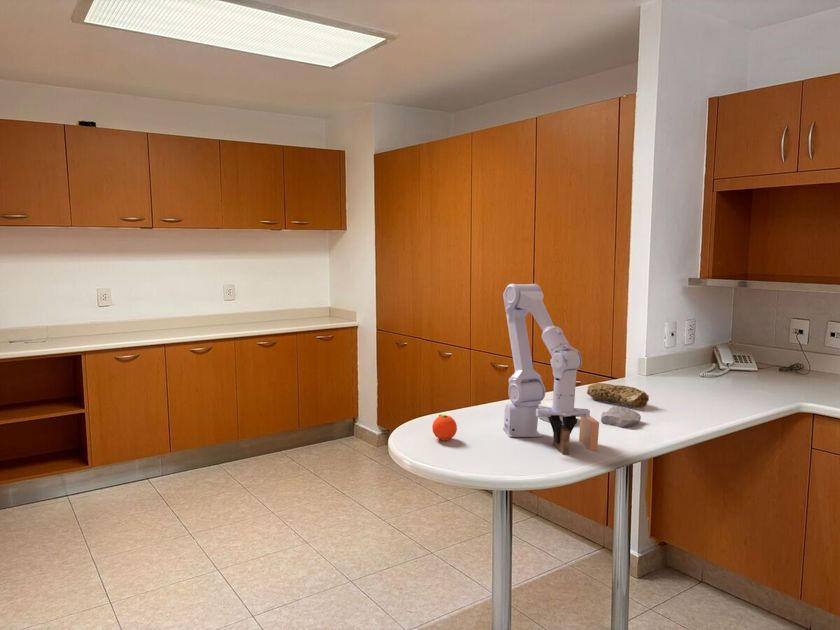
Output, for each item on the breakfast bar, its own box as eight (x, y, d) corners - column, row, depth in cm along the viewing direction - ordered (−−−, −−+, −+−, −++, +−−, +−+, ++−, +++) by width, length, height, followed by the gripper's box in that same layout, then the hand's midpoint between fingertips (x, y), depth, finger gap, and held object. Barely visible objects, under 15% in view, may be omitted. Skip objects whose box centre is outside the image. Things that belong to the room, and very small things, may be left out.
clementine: (426, 435, 174) (427, 411, 173) (447, 433, 176) (449, 409, 176) (438, 444, 166) (439, 419, 166) (460, 442, 169) (461, 417, 168)
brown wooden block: (562, 454, 162) (564, 430, 161) (552, 444, 170) (554, 422, 169) (568, 454, 162) (570, 430, 162) (558, 444, 170) (559, 421, 170)
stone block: (641, 427, 197) (612, 415, 202) (645, 414, 195) (615, 402, 201) (627, 437, 187) (597, 423, 193) (631, 423, 186) (601, 410, 192)
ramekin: (529, 418, 195) (530, 402, 194) (546, 412, 204) (547, 396, 203) (561, 426, 188) (562, 409, 187) (577, 419, 197) (578, 403, 196)
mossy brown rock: (650, 410, 216) (606, 386, 232) (653, 390, 213) (608, 368, 229) (624, 421, 209) (581, 396, 225) (627, 401, 206) (583, 377, 222)
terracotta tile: (589, 450, 166) (591, 422, 165) (578, 441, 174) (580, 413, 173) (597, 450, 167) (599, 422, 166) (586, 441, 174) (588, 413, 173)
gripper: (542, 397, 160) (539, 447, 161) (595, 397, 161) (592, 447, 163) (534, 390, 167) (531, 438, 168) (585, 391, 168) (582, 438, 170)
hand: (560, 442), depth 166 cm, fingers closed on brown wooden block, 2 cm apart
